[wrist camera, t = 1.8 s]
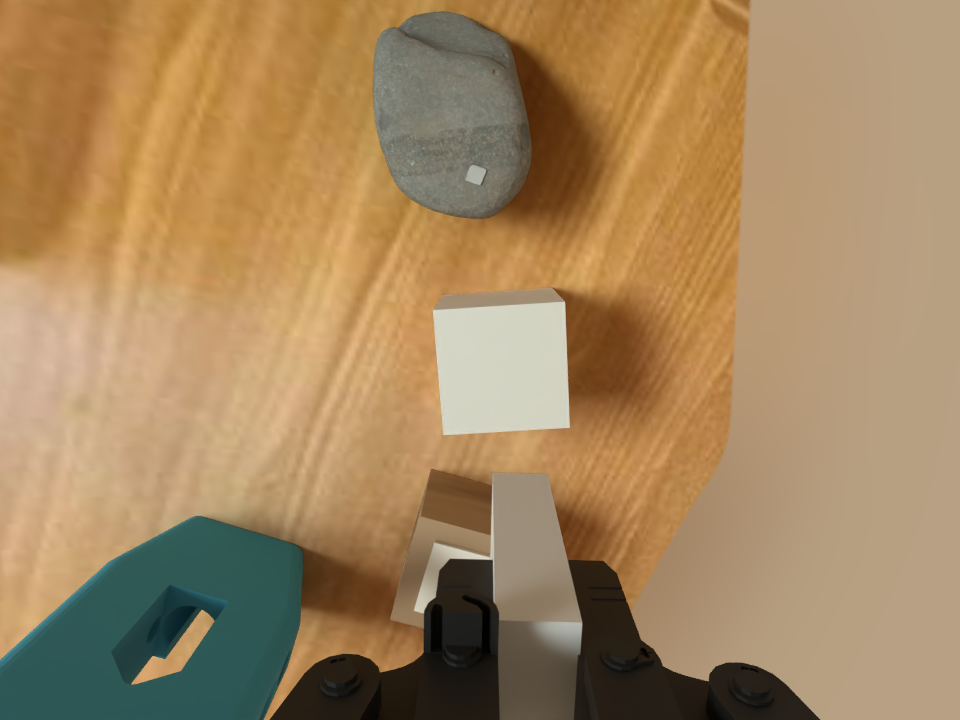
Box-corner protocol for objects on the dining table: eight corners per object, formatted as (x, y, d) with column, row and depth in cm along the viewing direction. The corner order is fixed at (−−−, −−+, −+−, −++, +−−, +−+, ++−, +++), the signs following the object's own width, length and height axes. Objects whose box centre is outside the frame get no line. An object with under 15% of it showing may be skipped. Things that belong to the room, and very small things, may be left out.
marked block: (431, 468, 42) (419, 518, 35) (529, 495, 43) (537, 550, 36) (405, 557, 44) (389, 623, 37) (500, 583, 44) (502, 652, 37)
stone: (547, 22, 36) (548, 72, 29) (524, 169, 42) (520, 243, 34) (393, 1, 36) (353, 46, 28) (391, 151, 42) (358, 221, 34)
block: (330, 555, 44) (204, 823, 24) (312, 614, 45) (177, 917, 25) (163, 505, 43) (-105, 740, 24) (149, 567, 44) (-118, 840, 25)
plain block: (442, 294, 40) (432, 310, 33) (551, 287, 40) (565, 301, 33) (450, 399, 41) (443, 435, 35) (556, 393, 41) (569, 427, 34)
